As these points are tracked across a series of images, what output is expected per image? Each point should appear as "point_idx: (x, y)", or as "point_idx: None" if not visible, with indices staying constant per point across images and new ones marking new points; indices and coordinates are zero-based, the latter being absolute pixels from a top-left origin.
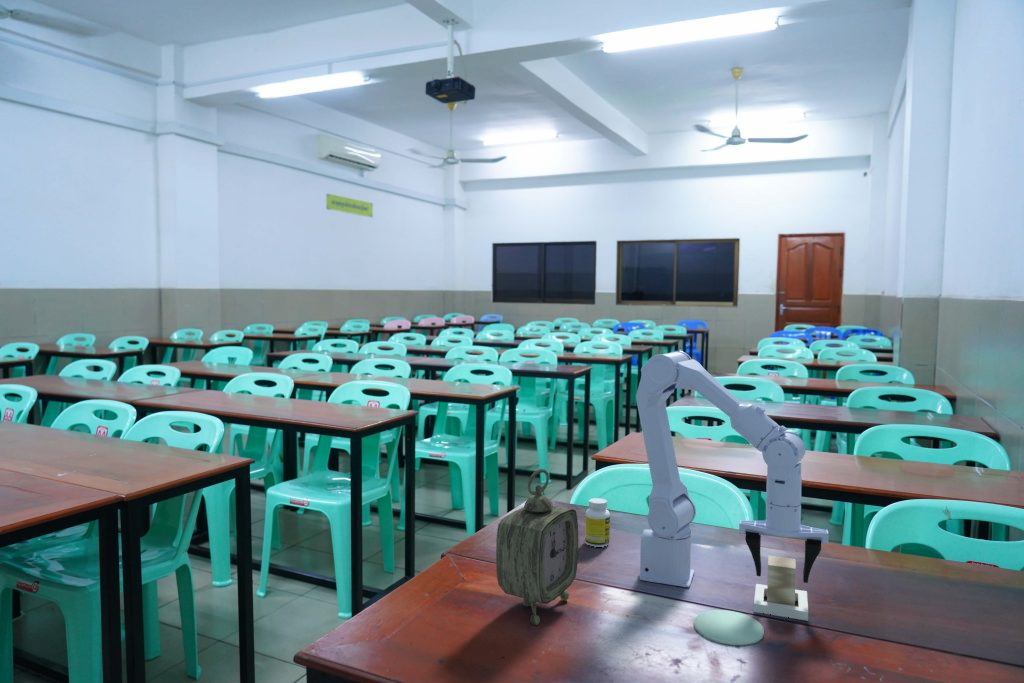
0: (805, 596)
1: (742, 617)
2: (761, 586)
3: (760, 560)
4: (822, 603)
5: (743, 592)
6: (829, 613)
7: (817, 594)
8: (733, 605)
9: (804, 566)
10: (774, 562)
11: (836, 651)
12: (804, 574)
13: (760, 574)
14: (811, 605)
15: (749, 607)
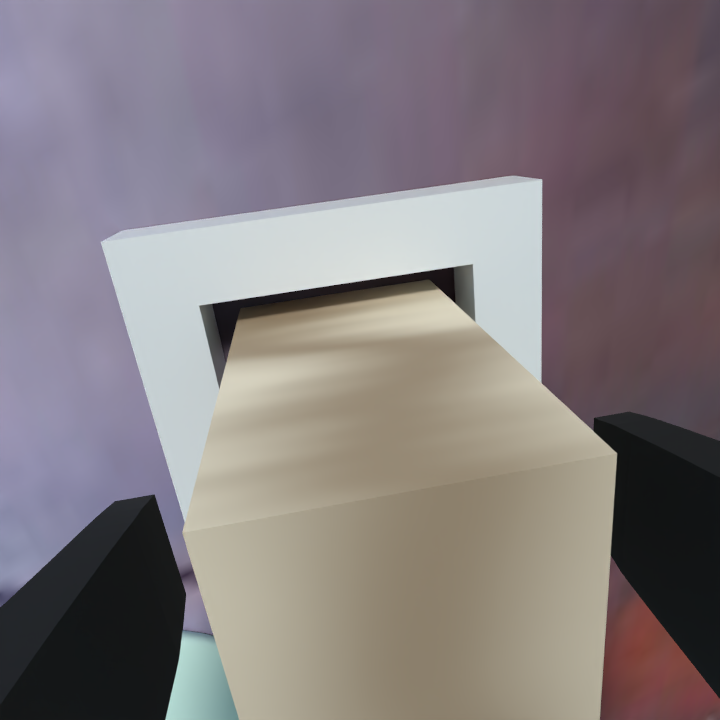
0: (528, 297)
1: (183, 678)
2: (165, 279)
3: (110, 648)
4: (618, 191)
5: (40, 297)
6: (644, 332)
7: (597, 16)
8: (67, 532)
9: (704, 584)
10: (328, 710)
11: (624, 683)
12: (650, 602)
13: (181, 618)
14: (542, 268)
15: (169, 506)
